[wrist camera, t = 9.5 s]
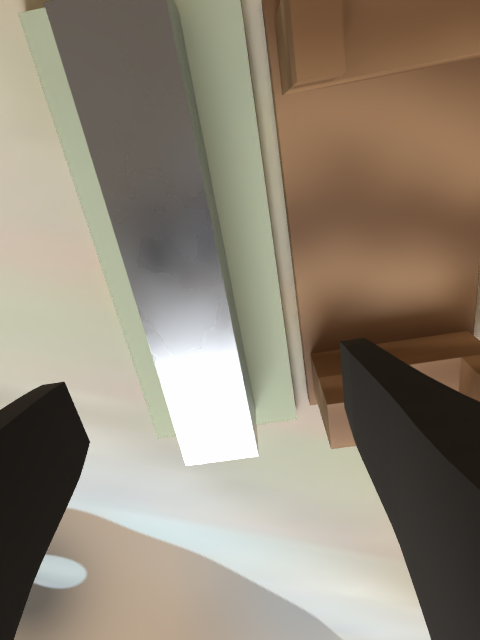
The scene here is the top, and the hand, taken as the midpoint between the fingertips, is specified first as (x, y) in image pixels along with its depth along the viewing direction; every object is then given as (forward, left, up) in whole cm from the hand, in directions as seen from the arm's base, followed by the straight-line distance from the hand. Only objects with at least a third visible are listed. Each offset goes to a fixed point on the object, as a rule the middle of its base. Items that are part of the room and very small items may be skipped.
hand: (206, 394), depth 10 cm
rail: (+1, +1, -9) cm, 9 cm away
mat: (+1, +1, -10) cm, 10 cm away
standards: (+1, -8, -10) cm, 12 cm away
